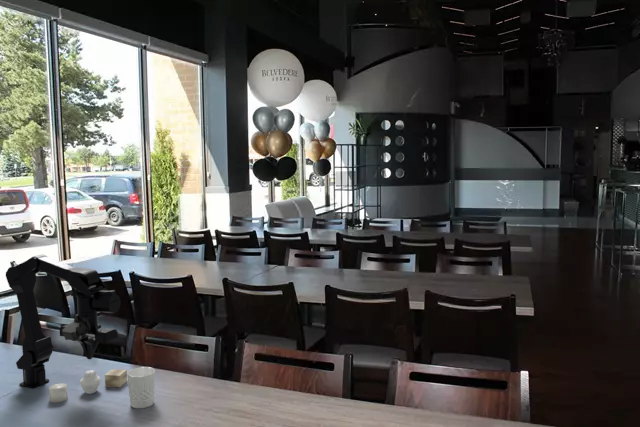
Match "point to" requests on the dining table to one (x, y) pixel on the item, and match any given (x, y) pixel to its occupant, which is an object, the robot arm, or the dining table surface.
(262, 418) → the dining table surface
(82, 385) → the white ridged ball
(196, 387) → the dining table surface
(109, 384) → the maple block
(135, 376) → the white cup
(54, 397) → the white rounded lump
